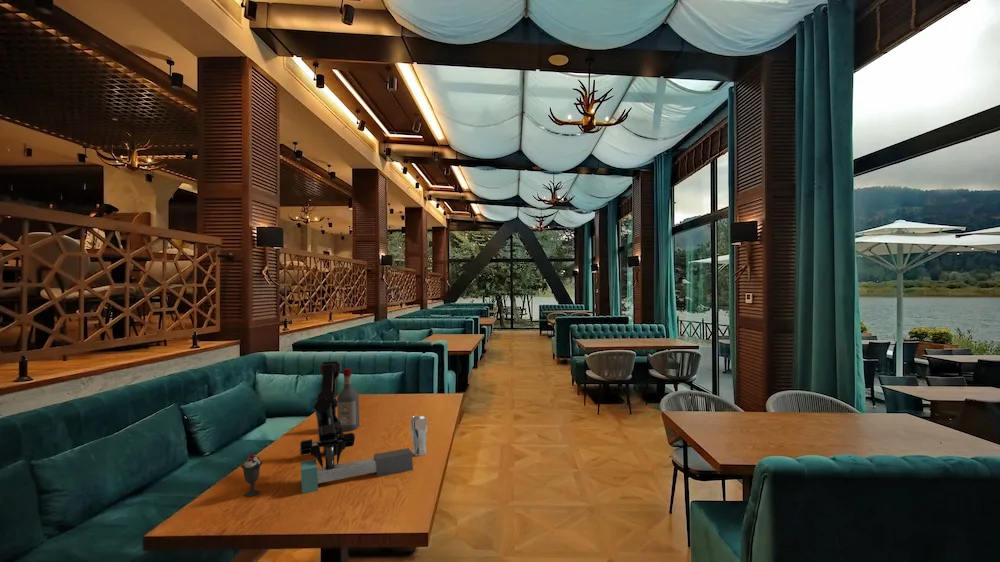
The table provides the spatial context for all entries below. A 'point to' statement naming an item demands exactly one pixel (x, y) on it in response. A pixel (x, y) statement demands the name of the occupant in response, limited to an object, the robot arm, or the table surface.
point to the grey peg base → (343, 467)
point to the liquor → (348, 404)
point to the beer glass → (419, 435)
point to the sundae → (251, 473)
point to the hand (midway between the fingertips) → (330, 465)
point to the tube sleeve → (393, 462)
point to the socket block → (309, 476)
